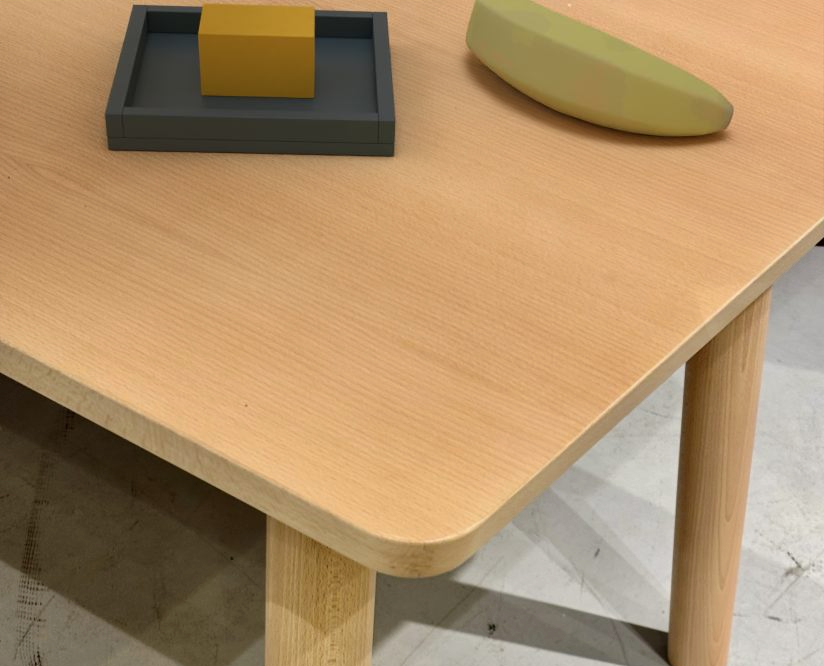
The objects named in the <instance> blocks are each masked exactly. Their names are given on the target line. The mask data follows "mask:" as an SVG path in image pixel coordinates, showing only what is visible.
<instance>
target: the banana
mask: <svg viewBox="0 0 824 666" xmlns="http://www.w3.org/2000/svg"><path fill="white" fill-rule="evenodd" d="M465 44H466V47H467V49H468V50H469V51H470V52H471V53H472V54H473V55H474V56H475V57H476V59H478V60H479V61H480V62H482V64H483V65H485V66H486V67H487V68H488V69H489V70H490V71H492V73H494V74H495V75H497V76H498V77H499V78H500V79H502V80H503V81H504V82H506V83H507V84H509V85H510V86H511V87H513V88H514V89H517V91H519V92H521V93H522V94H524V95H526V96H527V97H529V98H531V99H532V100H534V101H536V102H538V103H540V104H542V105H543V106H545V107H548V108H550V109H552V110H554V111H556V112H559V113H561V114H564V115H566V116H569V117H572V118H576V119H579V120H582V121H585V122H588V123H591V124H594V125H597V126H601V127H604V128H608V129H609V128H610V129H614V130H617V131H621V132H627V133H632V134H637V135H638V134H640V135H649V136H656V137H696V136H698V137H699V136H706V135H710V134H713V133H716V132H721V131H723V130H724V131H725V130H726V129H728V127H729V126H730V124H731V121H732V119H733V117H734V111H735V110H734V105H733V104H732V103H731V102H730V100H728V98H727V97H726V96H725V95H724V94H723V93H722V92H721V91H719V90H718V89H717V88H716V87H714V86H712V85H711V84H709V83H708V82H706V81H705V80H703V79H701V78H699V77H698V76H696V75H694V74H693V73H691V72H689V71H687V70H685V69H683V68H681V67H679V66H677V65H675V64H673V63H671V62H669V61H667V60H665V59H662V58H660V57H658V56H657V55H655V54H652V53H650V52H648V51H646V50H645V49H641V48H639V47H638V46H635V45H634V44H631V43H630V42H627V41H625V40H623V39H620V38H618V37H616V36H614V35H612V34H609V33H607V32H606V31H603V30H601V29H598V28H596V27H593V26H591V25H589V24H587V23H584V22H582V21H580V20H577V19H575V18H572V17H569V16H567V15H564V14H561V13H559V12H557V11H554V10H552V9H550V8H547V7H546V6H543V5H541V4H539V3H537V2H536V1H533V0H475V1H474V4H473V7H472V10H471V13H470V18H469V21H468V24H467V29H466V34H465Z"/></svg>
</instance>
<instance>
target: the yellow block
mask: <svg viewBox="0 0 824 666" xmlns="http://www.w3.org/2000/svg"><path fill="white" fill-rule="evenodd" d="M202 7H203V8H202V14H201V20H200V26H199V32H198V40H199V58H200V75H201V92H202V95H204V96H244V97H284V98H314V78H315V10H316V8H315V6H305V5H304V6H301V5H300V6H299V5H271V4H269V5H267V4H266V5H265V4H238V3H237V4H234V3H233V4H231V3H203V4H202Z"/></svg>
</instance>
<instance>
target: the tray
mask: <svg viewBox="0 0 824 666" xmlns="http://www.w3.org/2000/svg"><path fill="white" fill-rule="evenodd" d="M202 8H203V6H199V5H198V6H197V5H196V6H195V5H159V4H133V5H132V8H131V11H130V15H129V19H128V23H127V26H126V31H125V35H124V39H123V42H122V47H121V50H120V54H119V57H118V61H117V65H116V68H115V73H114V77H113V80H112V86H111V88H110V92H109V96H108V101H107V102H106V103H107V104H106V107H105V111H104V121H105V131H106V141H107V149H108V150H109V151H150V152H151V151H153V152H154V151H157V152H195V153H196V152H198V153H201V152H202V153H238V154H239V153H246V154H285V155H286V154H290V155H327V156H328V155H331V156H332V155H333V156H335V155H337V156H338V155H339V156H372V157H373V156H374V157H375V156H377V157H378V156H380V157H381V156H382V157H394V156H395V147H396V146H395V145H396V144H395V143H396V122H397V120H396V109H395V97H394V96H395V95H394V84H393V71H392V59H391V58H392V57H391V45H390V31H389V19H388V18H389V17H388V12H387V11H371V10H369V11H368V10H367V11H364V10H335V9H327V10H326V9H315V78H314V98H284V97H244V96H204V95H202V92H201V75H200V58H199V40H198V32H199V26H200V20H201V14H202Z"/></svg>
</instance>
